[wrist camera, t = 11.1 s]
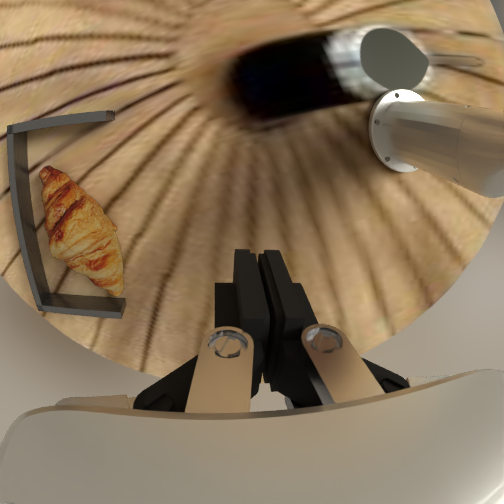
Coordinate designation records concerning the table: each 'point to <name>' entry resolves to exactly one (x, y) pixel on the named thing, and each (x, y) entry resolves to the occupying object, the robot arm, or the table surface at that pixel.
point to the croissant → (81, 231)
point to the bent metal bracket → (27, 227)
